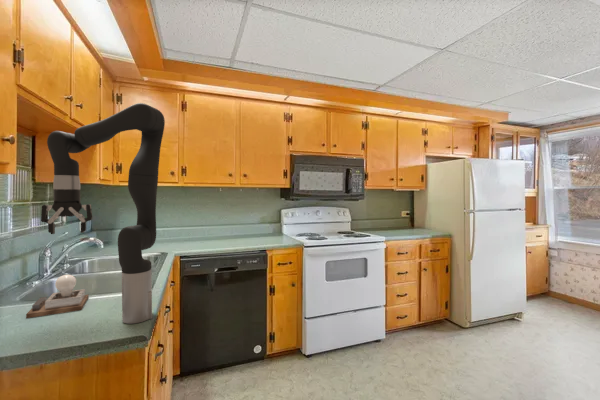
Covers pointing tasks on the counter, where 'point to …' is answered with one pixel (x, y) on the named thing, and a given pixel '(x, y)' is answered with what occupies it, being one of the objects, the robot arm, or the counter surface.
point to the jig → (58, 304)
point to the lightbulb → (65, 285)
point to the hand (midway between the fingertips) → (68, 233)
